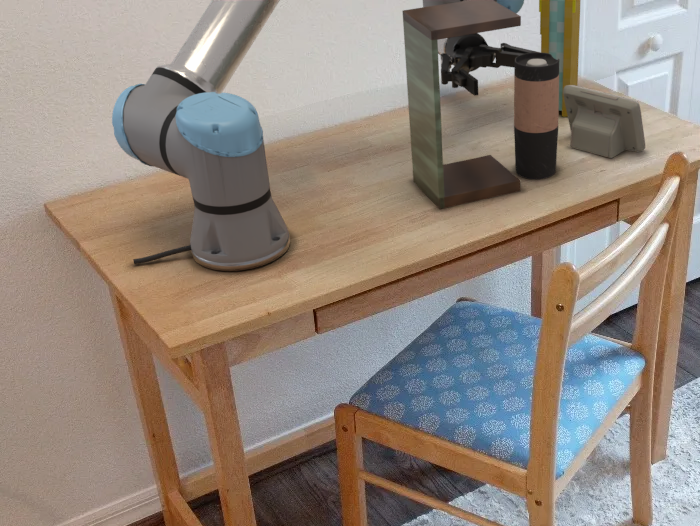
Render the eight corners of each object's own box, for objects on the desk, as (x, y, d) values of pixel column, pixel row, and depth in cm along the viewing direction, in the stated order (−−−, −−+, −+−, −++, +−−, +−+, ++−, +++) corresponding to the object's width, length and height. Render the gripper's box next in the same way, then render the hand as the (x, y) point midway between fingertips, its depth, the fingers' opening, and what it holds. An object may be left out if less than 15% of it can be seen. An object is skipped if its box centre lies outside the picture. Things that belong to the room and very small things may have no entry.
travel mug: (509, 177, 176) (508, 65, 165) (520, 160, 182) (520, 50, 171) (551, 182, 174) (554, 68, 163) (561, 164, 180) (564, 53, 169)
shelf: (439, 209, 167) (431, 30, 150) (413, 181, 176) (402, 10, 159) (520, 191, 172) (521, 16, 155) (490, 165, 181) (488, -3, 164)
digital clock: (650, 152, 183) (655, 96, 177) (615, 166, 179) (619, 109, 173) (587, 127, 194) (589, 73, 188) (552, 140, 189) (554, 85, 183)
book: (571, 116, 198) (575, -14, 184) (537, 115, 200) (539, -15, 185) (580, 86, 212) (585, -38, 197) (549, 85, 213) (551, -38, 199)
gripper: (520, 56, 200) (572, 89, 184) (403, 77, 192) (447, 114, 176) (520, 17, 196) (573, 48, 180) (400, 38, 188) (445, 72, 172)
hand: (511, 81), depth 178 cm, fingers open, 13 cm apart
